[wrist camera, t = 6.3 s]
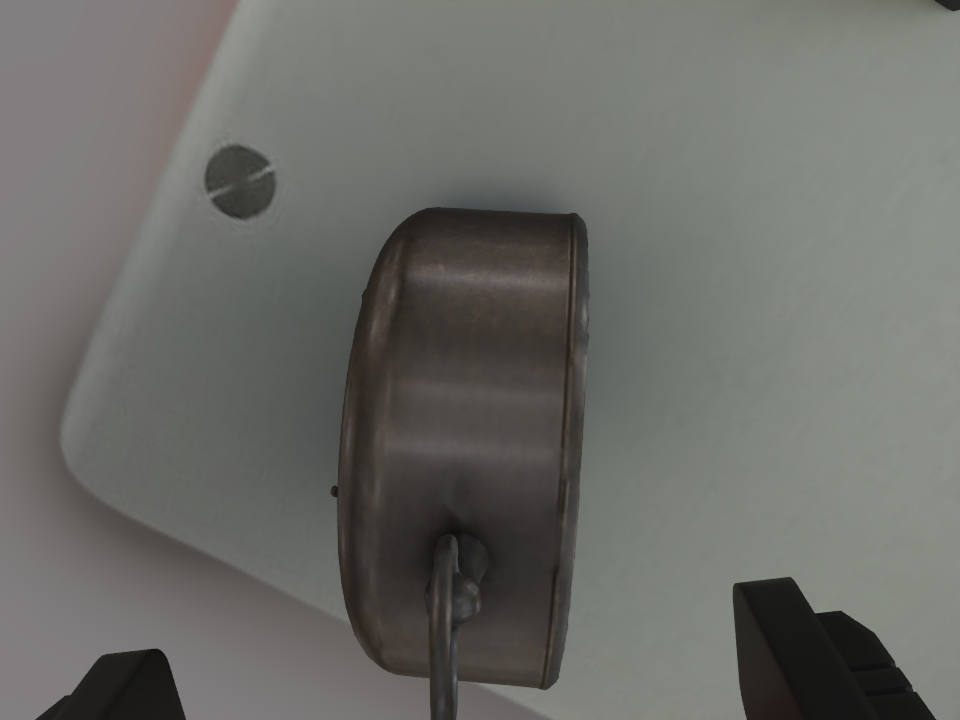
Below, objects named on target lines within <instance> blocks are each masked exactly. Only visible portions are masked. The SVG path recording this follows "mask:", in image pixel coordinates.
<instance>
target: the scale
mask: <svg viewBox="0 0 960 720" xmlns="http://www.w3.org/2000/svg"><path fill="white" fill-rule="evenodd" d="M936 1H938V2H939V3H941V4H942V5H944V6H946V7H947V8H949V9H950V10H952V11H956V10H960V0H936Z"/></svg>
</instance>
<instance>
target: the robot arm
mask: <svg viewBox="0 0 960 720" xmlns="http://www.w3.org/2000/svg"><path fill="white" fill-rule="evenodd" d="M733 606H734V619H735V632H736V645H737V658H738V671H739V683H740V690H741V696H742V701H743V706H744V710H745V714H746V718H747V720H936V719H935V717H934V716H933V715H932V713H931V712H930V710H929V709H928V708H927V706H926V705H925V703H924V702H923V701H922V699H921V698H920V696H919V695H918V694H917V692H913V689H912V685H911V684H910V682H909V681H908V679H907V678H906V677H905V675H904V674H903V672H902V671H901V670H900V668H899V667H897V668H896V665H895V661H894V660H893V658H892V657H891V656H890V654H889V653H888V651H887V650H886V649H885V647H884V646H883V644H882V643H881V642H880V640H879V639H878V637H877V636H876V635H875V633H874V632H872V631H871V630H869V629H868V628H866V627H865V626H863V625H862V624H860V623H859V622H857V621H856V620H854V619H853V618H851V617H850V616H848V615H847V614H845V613H844V612H842V611H833V612H824V613H814V611H813V610H812V608H811V606H810V605H809V603H808V602H807V600H806V598H805V597H804V595H803V594H802V592H801V590H800V589H799V587H798V586H797V584H796V582H795V581H794V580H793V579H792V578H791V577H785V578H776V579H767V580H759V581H750V582H741V583H735V584H734V586H733ZM36 720H186V718H185V715H184V712H183V708H182V705H181V702H180V698H179V695H178V692H177V688H176V685H175V682H174V679H173V675H172V672H171V669H170V665H169V662H168V660H167V658H166V656H165V654H164V653H163V652H162V651H161V650H159V649H147V650H139V651H130V652H122V653H113V654H105V655H103V656H101V657H100V658H99V659H98V660H97V661H96V662H95V664H94V665H93V666H92V668H91V669H90V670H89V672H88V673H87V674H86V675H85V677H84V678H83V679H82V681H81V682H80V684H79V685H78V686H77V687H76V689H75V690H74V691H73V693H72V694H71V695H68V696H64V697H63V698H62V699H61V700H59V701H58V702H57V703H56V704H54V705H53V706H52V707H51V708H49V709H48V710H47V711H46V712H44V713H43V714H42V715H41V716H39V717H38V718H37V719H36Z"/></svg>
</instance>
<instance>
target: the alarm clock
mask: <svg viewBox="0 0 960 720" xmlns="http://www.w3.org/2000/svg"><path fill="white" fill-rule="evenodd" d="M587 249H588V240H587V229H586V225H585V222H584V220H583V219H582V218H581V217H580V216H579V215H578V214H576V213H570V214H546V213H528V212H510V211H491V210H475V209H459V208H441V207H435V208H426V209H424V210H421V211H419V212H417V213H415V214H413V215H411V216H410V217H408V218H407V219H406V220H405V221H403V222H402V223H401V224H400V225H399V226H398V227H397V228H396V229H395V230H394V231H393V233H392V234H391V236H390V237H389V238H388V240H387V241H386V243H385V245H384V246H383V248H382V250H381V252H380V254H379V256H378V258H377V261H376V263H375V265H374V267H373V270H372V273H371V276H370V278H369V281H368V284H367V287H366V289H365V290H364V292H363V295H362V305H361V309H360V313H359V317H358V321H357V325H356V328H355V334H354V339H353V345H352V350H351V354H350V360H349V367H348V373H347V381H346V389H345V396H344V404H343V414H342V425H341V436H340V450H339V465H338V487H337V486H333V487H332V489H331V495H332V496H334V497H337V522H338V554H339V565H340V574H341V583H342V589H343V594H344V600H345V605H346V609H347V613H348V616H349V619H350V622H351V625H352V628H353V631H354V634H355V636H356V638H357V640H358V642H359V643H360V645H361V647H362V648H363V650H364V651H365V653H366V654H367V655H368V657H369V658H370V659H372V660H373V661H374V662H375V663H376V664H377V665H379V666H380V667H382V668H383V669H385V670H386V671H388V672H391V673H393V674H396V675H404V676H412V677H422V678H430V707H431V720H456V715H457V693H458V692H457V691H458V687H457V686H458V685H457V684H458V681H467V682H478V683H489V684H500V685H512V686H521V687H530V688H538V689H542V690H547V689H548V688H550V687H551V686H552V685H553V684H554V683H556V681H557V679H558V678H559V671H560V665H561V660H562V658H563V652H564V650H565V641H566V634H567V629H568V614H569V609H570V598H571V585H572V576H573V568H574V559H575V544H576V530H577V518H578V506H579V483H580V467H581V455H582V439H583V420H584V403H585V385H586V369H587V346H588V340H589V335H588V331H587V329H588V321H589V317H588V299H589V286H588V275H589V273H588V251H587Z"/></svg>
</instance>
